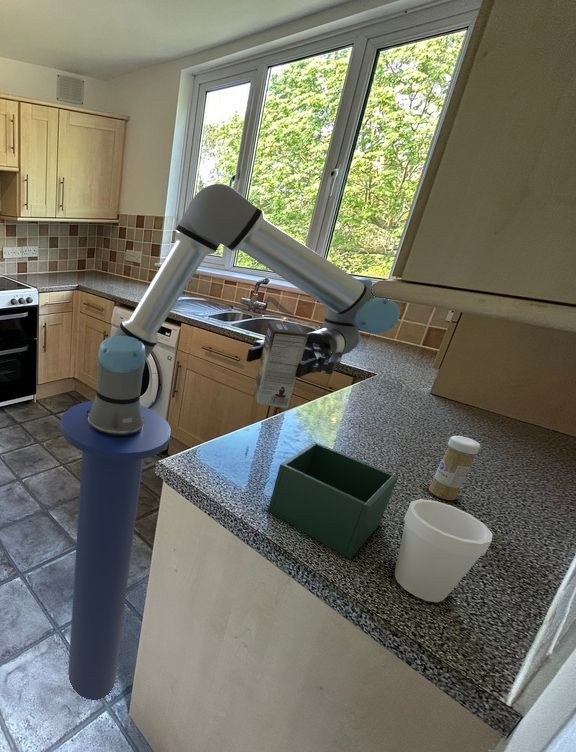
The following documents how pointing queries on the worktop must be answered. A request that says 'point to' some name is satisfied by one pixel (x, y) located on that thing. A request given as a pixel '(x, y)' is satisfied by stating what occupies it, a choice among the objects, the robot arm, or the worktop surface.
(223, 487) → the worktop surface
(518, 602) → the worktop surface
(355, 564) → the worktop surface
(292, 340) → the coffee box
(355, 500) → the waste bin
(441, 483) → the sprinkles bottle
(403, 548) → the foam cup
